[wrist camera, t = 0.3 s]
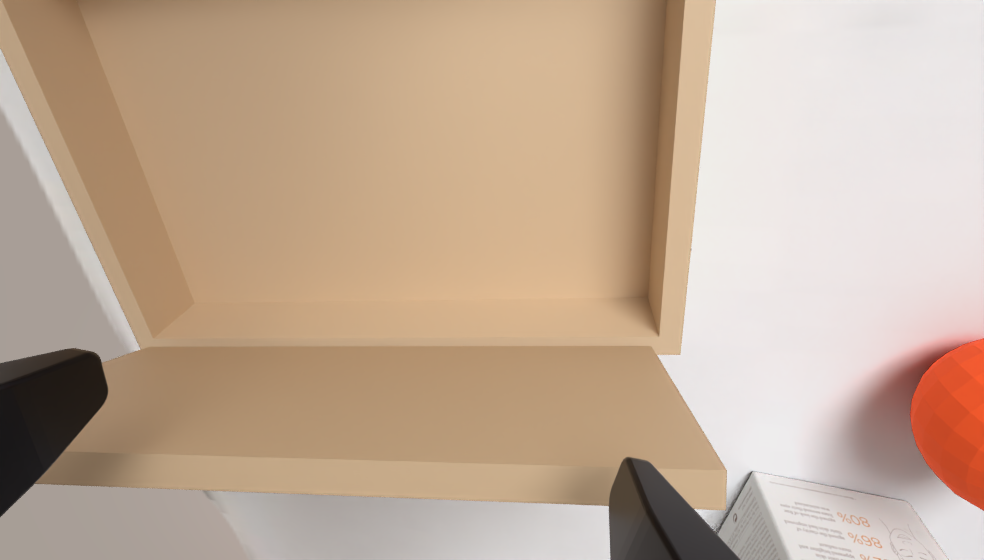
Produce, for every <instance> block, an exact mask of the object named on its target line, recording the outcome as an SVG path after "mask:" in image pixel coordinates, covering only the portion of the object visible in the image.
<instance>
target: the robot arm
mask: <svg viewBox="0 0 984 560" xmlns="http://www.w3.org/2000/svg"><path fill="white" fill-rule="evenodd" d="M107 396H108V385H107V381H106V377H105V373H104V370H103V366H102V362H101V359H100V357H99V356H98V355H97V354H96V353H94V352H91V351H86V350H81V349H76V348H71V349H64V350H60V351H55V352H51V353H46V354H41V355H37V356H32V357H27V358H23V359H18V360H13V361H9V362H4V363H0V517H1V516H2V515H3V514H4V513H5V512H6V511H7V510H8V509H9V508H10V507H11V506H12V505H13V504H14V503H15V502H16V501H17V500H18V499H19V498H20V497H21V496H22V495H23V494H25V493H26V492H27V491H28V490H29V489H30V487H32V486H33V485H34V484H35V483H36V482H37V481H38V480H39V479H40V478H41V477H42V476H43V475H44V474H45V472H46V471H47V470H48V469H49V468H50V467H51V466H52V465H53V463H54V462H55V461H56V460H57V459H58V458H59V457H60V455H61V454H62V453H63V452H64V451H65V450H66V448H67V447H68V446H69V445H70V444H71V442H72V441H73V440H74V439H75V438H76V437H77V435H78V434H79V433H80V432H81V431H82V430H83V428H84V427H85V426H86V425H87V424H88V423H89V421H90V420H91V419H92V418H93V417H94V415H95V414H96V413H97V412H98V411H99V410H100V408H101V407H102V406H103V405H104V403H105V401H106V399H107ZM609 526H610V556H611V560H741V559H740V558H739V557H738V556H737V555H736V554H735V553H734V552H733V551H732V550H731V549H730V548H729V547H728V545H727V544H726V543H725V542H724V541H723V540H722V539H721V538H720V537H719V536H718V535H717V534H716V533H715V531H714V530H713V529H712V528H711V527H710V526H709V525H708V524H707V523H706V522H705V521H704V520H703V519H702V517H701V516H700V515H699V514H698V513H697V512H696V511H695V510H694V509H693V508H692V507H691V506H690V505H689V503H688V502H687V501H686V500H685V499H684V498H683V497H682V496H681V495H680V494H679V493H678V492H677V491H676V489H675V488H674V487H673V486H672V485H671V484H670V483H669V482H668V481H667V480H666V479H665V478H664V477H663V475H662V474H661V473H660V472H659V471H658V470H657V469H656V468H655V467H654V466H653V465H652V464H651V463H650V462H649V461H647V460H643V459H638V458H633V457H626V458H624V459H623V461H622V462H621V465H620V467H619V470H618V472H617V475H616V477H615V480H614V483H613V485H612V488H611V491H610V497H609Z"/></svg>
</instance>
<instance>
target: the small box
mask: <svg viewBox="0 0 984 560" xmlns="http://www.w3.org/2000/svg"><path fill="white" fill-rule="evenodd" d="M717 535H718V536H719V537H720V538H721V539H722V540H723V541H724V542H725V543H726V544H727V545H728V547H729V548H730V549H731V550H732V551H733V552H734V553H735V554H736V555H737V556H738V557H739V558H740V559H741V560H949V559H948V558H947V556H946V555H945V553H944V552H943V550H942V549H941V548H940V546H939V545H938V543H937V542H936V540H935V539H934V538H933V536H932V535H931V533H930V532H929V530H928V529H927V528H926V526H925V525H924V523H923V522H922V520H921V519H920V517H919V516H918V515H917V513H916V512H915V510H914V509H913V507H912V506H911V505H910V503H908V502H906V501H902V500H897V499H891V498H886V497H881V496H876V495H871V494H866V493H861V492H856V491H851V490H846V489H841V488H836V487H831V486H826V485H821V484H816V483H811V482H806V481H801V480H796V479H790V478H785V477H780V476H775V475H770V474H765V473H760V472H752V474H751V476H750V477H749V479H748V481H747V483H746V485H745V486H744V488H743V490H742V492H741V493H740V495H739V497H738V499H737V500H736V502H735V504H734V506H733V508H732V509H731V511H730V513H729V515H728V517H727V518H726V520H725V522H724V524H723V525H722V527H721V529H720V531H719V533H718V534H717Z"/></svg>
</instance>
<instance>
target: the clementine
mask: <svg viewBox="0 0 984 560" xmlns="http://www.w3.org/2000/svg"><path fill="white" fill-rule="evenodd" d="M910 417H911V425H912V431H913V435H914V438H915V442H916V445H917V447H918V449H919V451H920V452H921V454H922V456H923V458H924V460H925V461H926V463H927V464H928V466H929V467H930V468H931V469H932V470H933V472H934V473H935V474H936V475H937V476H938V477H939V478H940V479H941V480H942V481H943V482H944V483H945V484H946V485H947V486H948V487H949V488H950V489H951V490H952V491H953V492H954V493H955V494H956V495H958V496H960V497H961V498H963V499H965V500H967V501H968V502H970V503H972V504H973V505H975V506H977V507H978V508H980V509H982V510H983V511H984V339H980V340H977V341H973V342H970V343H967V344H964V345H962V346H960V347H958V348H956V349H954V350H952V351H950V352H948V353H946V354H945V355H944V356H942V357H941V358H940V359H938V360H937V361H936V362H934V363H933V364H932V365H931V366H930V367H929V369H928V370H927V371H926V372H925V373H924V374H923V376H922V378H921V380H920V382H919V384H918V386H917V388H916V390H915V393H914V395H913V398H912V402H911V411H910Z"/></svg>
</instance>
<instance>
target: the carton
mask: <svg viewBox="0 0 984 560" xmlns="http://www.w3.org/2000/svg"><path fill="white" fill-rule="evenodd" d="M715 4H716V0H0V48H1V50H2V52H3V55H4V57H5V59H6V61H7V63H8V65H9V67H10V70H11V72H12V74H13V76H14V78H15V80H16V83H17V85H18V87H19V89H20V91H21V93H22V95H23V98H24V100H25V102H26V104H27V106H28V108H29V110H30V113H31V115H32V117H33V119H34V121H35V123H36V125H37V128H38V130H39V132H40V134H41V136H42V138H43V140H44V143H45V145H46V147H47V149H48V151H49V153H50V155H51V158H52V160H53V162H54V164H55V166H56V168H57V170H58V173H59V175H60V177H61V179H62V181H63V183H64V185H65V188H66V190H67V192H68V194H69V196H70V198H71V201H72V203H73V205H74V207H75V209H76V211H77V213H78V216H79V218H80V220H81V222H82V224H83V226H84V228H85V231H86V233H87V235H88V237H89V239H90V241H91V243H92V246H93V248H94V250H95V252H96V254H97V256H98V258H99V261H100V263H101V265H102V267H103V269H104V271H105V273H106V276H107V278H108V280H109V282H110V284H111V286H112V288H113V291H114V293H115V295H116V297H117V299H118V301H119V303H120V306H121V308H122V310H123V312H124V314H125V316H126V318H127V321H128V323H129V325H130V327H131V329H132V331H133V334H134V336H135V338H136V340H137V342H138V344H139V346H140V349H144V348H147V347H291V346H651V347H652V348H653V350H654V351H655V353H656V355H680V353H681V343H682V333H683V323H684V313H685V303H686V293H687V283H688V273H689V263H690V253H691V243H692V233H693V223H694V213H695V203H696V193H697V183H698V173H699V163H700V153H701V143H702V133H703V123H704V113H705V103H706V94H707V84H708V74H709V64H710V54H711V44H712V34H713V24H714V14H715Z"/></svg>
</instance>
